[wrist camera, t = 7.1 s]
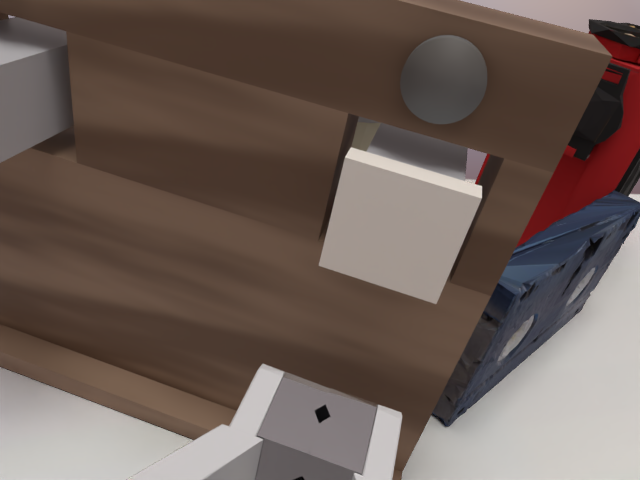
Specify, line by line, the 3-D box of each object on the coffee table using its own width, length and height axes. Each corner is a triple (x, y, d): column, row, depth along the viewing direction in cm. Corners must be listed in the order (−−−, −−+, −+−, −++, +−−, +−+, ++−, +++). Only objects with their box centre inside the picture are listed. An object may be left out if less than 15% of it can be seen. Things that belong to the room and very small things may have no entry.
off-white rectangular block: (436, 304, 17) (481, 198, 14) (318, 265, 17) (344, 157, 15) (449, 200, 23) (483, 115, 20) (362, 174, 23) (385, 87, 21)
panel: (390, 514, 24) (625, 69, 12) (-37, 352, 27) (-178, -142, 15) (406, 413, 29) (585, 26, 17) (44, 285, 32) (-15, -128, 20)
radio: (513, 191, 56) (606, -7, 45) (606, 237, 52) (735, 29, 40) (445, 239, 45) (544, -6, 34) (555, 303, 41) (712, 43, 29)
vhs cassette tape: (551, 293, 42) (614, 187, 36) (585, 316, 40) (657, 208, 35) (405, 394, 30) (464, 261, 25) (444, 431, 29) (516, 298, 23)
